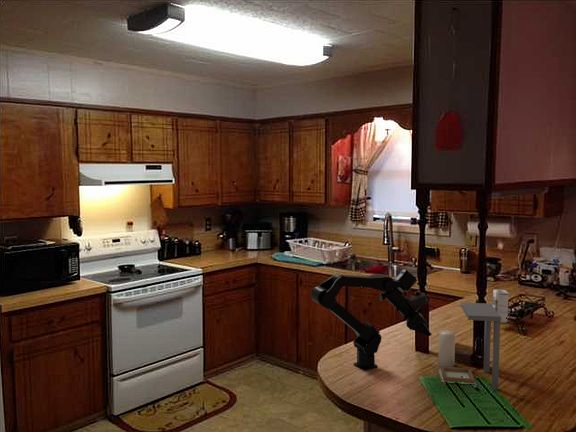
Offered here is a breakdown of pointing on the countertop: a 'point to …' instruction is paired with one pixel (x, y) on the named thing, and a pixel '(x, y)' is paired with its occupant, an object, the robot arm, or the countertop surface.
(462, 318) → the countertop surface
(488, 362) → the shelf
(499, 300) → the syrup box
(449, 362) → the ceramic jar
